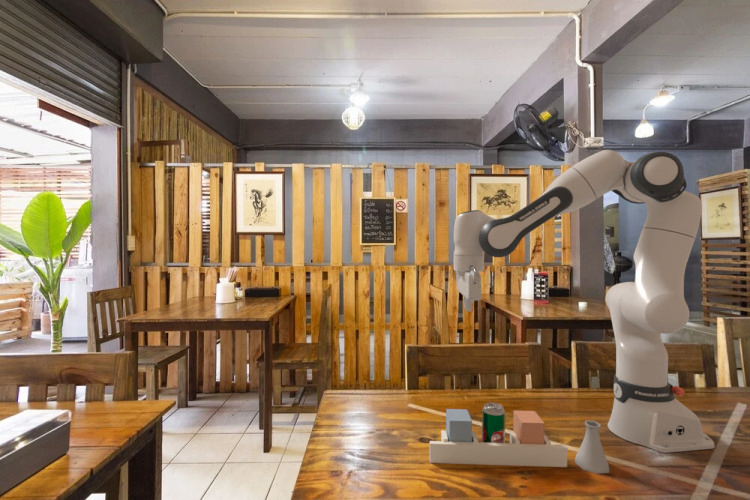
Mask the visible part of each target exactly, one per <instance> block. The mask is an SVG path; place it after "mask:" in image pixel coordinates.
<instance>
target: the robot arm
mask: <svg viewBox="0 0 750 500" xmlns="http://www.w3.org/2000/svg"><path fill="white" fill-rule="evenodd" d="M687 185H688V184H687V181H686V177H685V171H684V166H683V163H682V162H681V160H680V158H678V157H677V155H675V154H673V153H670V152H667V151H653V152H650V153H646V154H644V155H642V156H641V157H639V158H638V159H636V160H635V161H633V162H632V161H627V160H626V159H624V158H623V156H622V155H621V154H620V153H618V152H616V151H615V150H612V149H603V150H600V151H598V152H596V153H594V154H592V155H589V156H587V157H586V158H584V159H582V160H580V161H578V162H577V163H575V164H574V165H572V166H570V167H568V169H566V170H565V171H563V172H562V173H561V174H560V175H558V176H557V177H556V178H555V179H554V180H553V181H552V182H551V183H550V184H549V185H548V186H547V188H546V189H545V190H544V192H543V193H542V194H541V195H540V196H539V197H537V198H536V199H535V200H534V201H532V202H530V203H528V204H527V205H526V206H524V207H523V208H521V209H520V210H518V211H516V212H514V213H513V214H512V215H510V216H507V217H503V218H494V217H492V216H489V215H488V214H486V213H484V212H483V211H482V210H479V209H474V210H469V211H464V212H461V213H459V214H458V215H457V216H456V217H455V220H454V226H453V227H454V229H453V243H454V251H453V271H454V272H455V279H456V280H455V282H456V283H455V284H456V289H457V292H459V293H460V294H461V295H462V296H463V297H462V298H463V305H464V307H463V308H464V310H465V311H466V312H469V313H472V311H473V303H474V301H481V300H482V279H481V274H480V272H484V270H485V269H484V268H485V262H484V261H485V260H484V259H485V254H487V255H488V256H490V257H493V258H504V257H507V256H509V255H510V254H512V253H513V252H515V250H516V248H517V247H518V246H519V244H520V242H521V241H522V239H523V238H525V236H527V235H528V234H530V233H532V231H534V230H535V229H537V228H539V227H540V226H542V225H543V224H545V223H547V222H548V221H549V220H552V219H554V218H556V217H557V216H558V217H559V216H560V215H561V216H562V215H564V214H570V213H572V212H575V211H577V210H580V209H582V208H584V207H587V206H588V205H590V204H591V203H593V202H594V201H596V200H598V199H600V198H601V197H602V196H604V195H605V194H607V193H609V192H613V193H614V194H615V195H617V196H619V197H620V198H621V199H623V200H624V201H626V202H629V203H631V204H638V205H641V204H645V205H646V208H647V210H646V211H647V214H646V219H645V221H644V223H643V226H642V227H643V228H642V230H641V232H640V236H639V238H638V241H637V245H636V247H635V250H634V253H633V262H634V264H635V265H634V266H635V275H634V281H625V282H620V283H616V284H614V285H612V286H610V288H609V289H608V290H607V292H606V294H605V304H606V306H607V308H608V311H609V313H610V319H611V324H612V330H613V334H614V335H613V336H614V339H615V348H616V349H615V351H616V353H615V355H616V356H615V357H616V358H615V360H616V361H615V374H614V375H613V397H614V398H613V399H614V400H613V405H612V411H611V414H610V418H609V421H608V422H607V428H608V430H610V431H611V433H613V434H614V435H616V437H617V436H618V437H619V438H621V439H623V440H625V441H628V442H631V443H634V444H636V445H641V446H644V447H647V448H650V449H652V450H654V451H656V452H660V453H666V454H667V453H677V452H689V451H699V450H710V449H715V448H716V445H715V442H714V441H713V439H712V438H710V436H709V435H707V434H706V433H705V432H703V426H702V422H701V421H700V419H699V417H698V416H697V415H696V413H694V412H693V411H692V410H690V409H689V408H688V407H687V406H685V405H684V404H683V403H682V402H680V401H679V400H678V399H677V398H675V395H676V396H678V397H683V396H684V395H685V393H686V392H685V390H684V389H683V388H682V387H679V386H677V385H674V386H673V384H671V383H670V382H668V377H669V375H668V372H669V371H668V370H669V354H668V350H667V348H666V347H665V345H664V343H663V340H662V337H661V334H665V335H666V334H673V333H676V332H679V331H681V330H682V329H684V328H685V327H686V325H687V324H688V321H689V319H690V308H689V306H688V304H687V302H686V299H685V295H684V294H685V293H684V292H685V291H684V290H685V288H684V287H685V271H686V267H687V263H688V261H689V258H690V255H691V251H692V249H693V246H694V243H695V240H696V238H697V234H698V232H699V228H700V227H699V226H700V222H701V217H702V211H703V210H702V208H703V203H702V201H701V199H700V197H698V196H697V195H696V194H695V193H692V192H689V191H685V190H686V189H687Z"/></svg>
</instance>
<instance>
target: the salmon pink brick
mask: <svg viewBox="0 0 750 500" xmlns="http://www.w3.org/2000/svg"><path fill="white" fill-rule="evenodd" d="M512 424H513V425H512V426H513V429H512V432H515V434H516V436H517V437H518V439H519V441H520V444H544V434H545V422H544V420H542V418H541V417H540V416H539V415H538V413H537V412H536V411H535V410H513V422H512Z"/></svg>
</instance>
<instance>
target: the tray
mask: <svg viewBox="0 0 750 500" xmlns="http://www.w3.org/2000/svg"><path fill="white" fill-rule="evenodd" d="M440 435H441V437H440V439H441V440H440V441H439V440H429V463H430V464H451V465H452V464H453V465H454V464H457V465H458V464H459V465H460V464H461V465H485V466H488V465H489V466H515V467H516V466H517V467H518V466H521V467H524V466H525V467H547V468H548V467H553V468H568V447H567V445H566V444H552V441H551V440H550V439H549V437H547V435H546V433H544V444H520V441H519V439H518V437H517V436H516V434H515V432H513V431H510V432H509V443H508V442H505V443H484V442H482V441H479V438H478V436H477V434H476V431H475V430H472V442H449V441H448V438H447V434H446V429H445V430H444V429H443V430H442V429H441V431H440Z"/></svg>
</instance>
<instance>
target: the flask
mask: <svg viewBox="0 0 750 500" xmlns="http://www.w3.org/2000/svg"><path fill="white" fill-rule="evenodd" d="M584 426H585V434H584V437H583V440H582V442H581V444H580V447H579V449H578V451H577V453H576V455H575V459H574V463H575V464H576V465H577V466H578V467H579V468H581V470H582V471H586V472H590V473H594V474H597V475H598V474H609V473H610V464H609V462H608V459H607V456H606V453H605V451H604V448H603V445H602V441H601V436H600V430H601V428H602V427H601V426H602V423H599V422H598V421H596V420H589V419H587V420H585V421H584Z"/></svg>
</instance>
